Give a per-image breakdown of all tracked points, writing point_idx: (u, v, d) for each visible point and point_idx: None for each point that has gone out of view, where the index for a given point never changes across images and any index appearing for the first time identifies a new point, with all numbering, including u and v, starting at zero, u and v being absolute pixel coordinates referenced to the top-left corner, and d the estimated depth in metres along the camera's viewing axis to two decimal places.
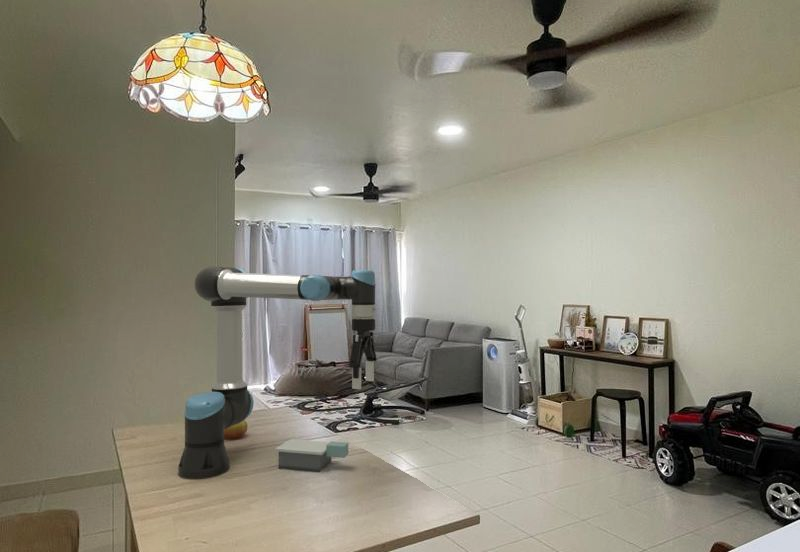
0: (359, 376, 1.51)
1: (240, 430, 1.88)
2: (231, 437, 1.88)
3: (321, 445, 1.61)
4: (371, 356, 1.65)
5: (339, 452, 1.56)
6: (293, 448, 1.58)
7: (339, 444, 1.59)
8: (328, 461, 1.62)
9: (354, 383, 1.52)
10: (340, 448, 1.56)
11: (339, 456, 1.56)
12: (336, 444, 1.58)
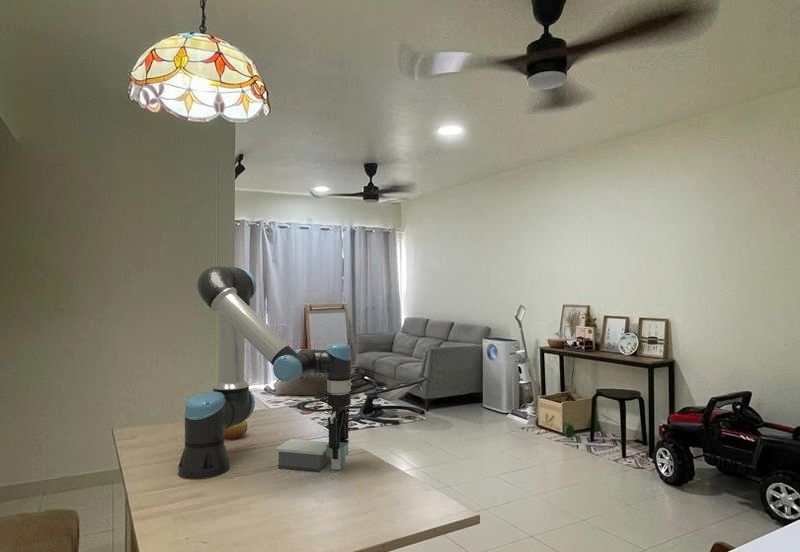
0: (338, 457, 1.56)
1: (240, 430, 1.88)
2: (231, 437, 1.88)
3: (321, 445, 1.61)
4: (343, 436, 1.61)
5: None
6: (293, 448, 1.58)
7: None
8: (328, 461, 1.62)
9: (333, 463, 1.56)
10: None
11: None
12: None
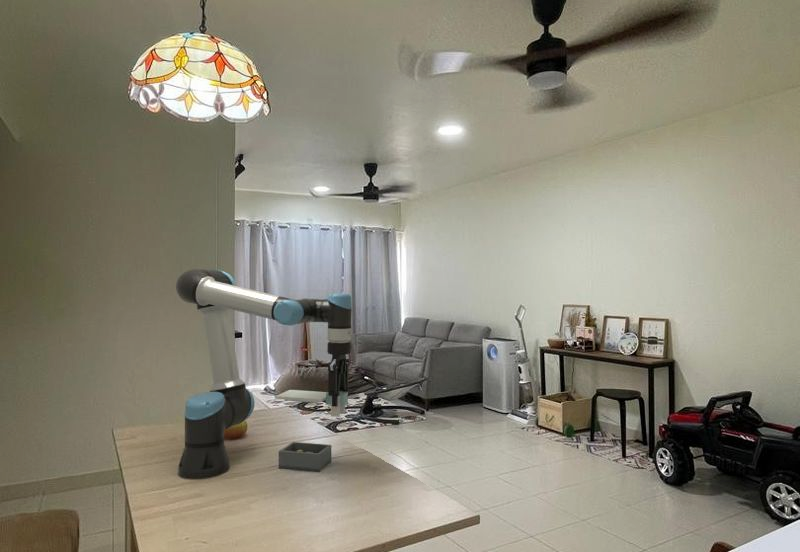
0: (338, 404, 1.56)
1: (240, 430, 1.88)
2: (231, 437, 1.88)
3: (321, 394, 1.62)
4: (343, 385, 1.61)
5: None
6: (293, 396, 1.59)
7: (339, 392, 1.59)
8: (328, 461, 1.62)
9: (333, 411, 1.57)
10: (340, 396, 1.57)
11: None
12: None
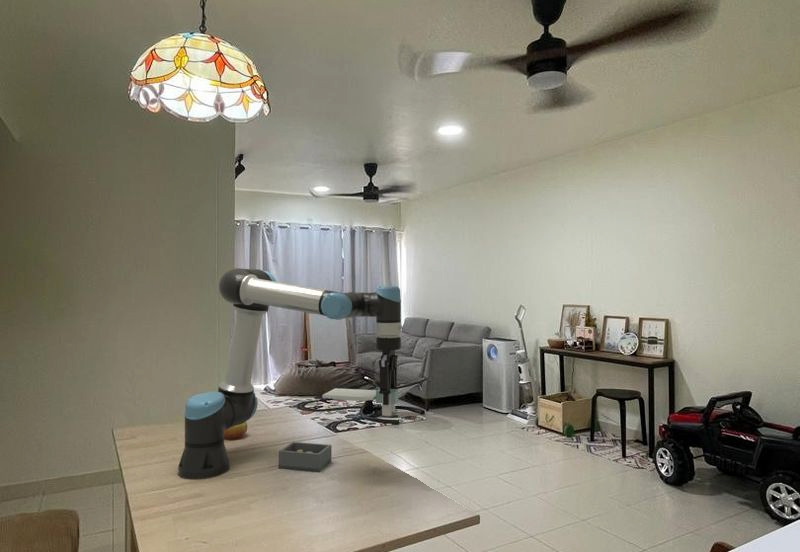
0: (389, 402, 1.48)
1: (240, 430, 1.88)
2: (231, 437, 1.88)
3: (369, 392, 1.54)
4: (393, 382, 1.53)
5: None
6: (341, 394, 1.51)
7: None
8: (328, 461, 1.62)
9: (384, 409, 1.49)
10: (391, 394, 1.49)
11: None
12: None
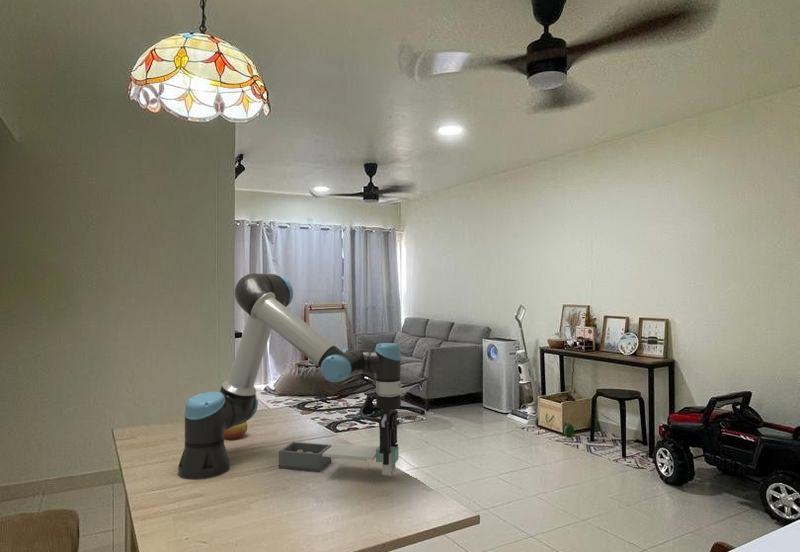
0: (389, 462, 1.48)
1: (240, 430, 1.88)
2: (231, 437, 1.88)
3: (369, 450, 1.53)
4: (393, 440, 1.53)
5: None
6: (341, 453, 1.50)
7: None
8: (328, 461, 1.62)
9: (384, 469, 1.48)
10: (391, 453, 1.48)
11: None
12: None
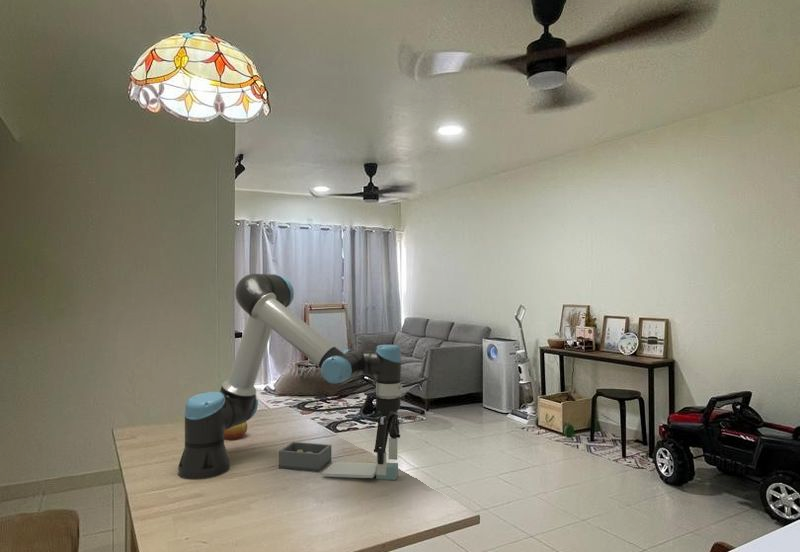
0: (384, 461, 1.44)
1: (240, 430, 1.88)
2: (231, 437, 1.88)
3: (369, 467, 1.53)
4: (395, 433, 1.57)
5: (389, 474, 1.48)
6: (340, 472, 1.50)
7: (389, 464, 1.51)
8: (328, 461, 1.62)
9: (379, 468, 1.44)
10: (390, 469, 1.48)
11: (390, 478, 1.48)
12: (386, 465, 1.50)
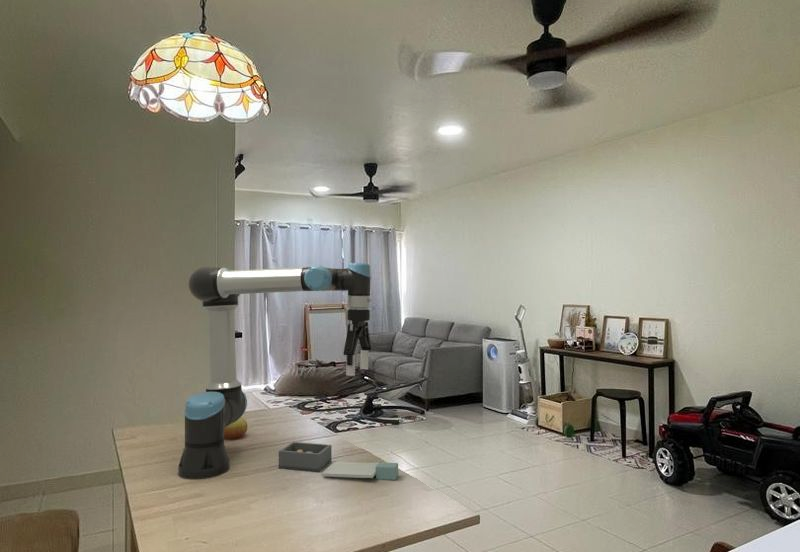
0: (353, 363, 1.59)
1: (240, 430, 1.88)
2: (231, 437, 1.88)
3: (369, 467, 1.53)
4: (366, 345, 1.72)
5: (389, 474, 1.48)
6: (340, 472, 1.50)
7: (389, 464, 1.51)
8: (328, 461, 1.62)
9: (348, 370, 1.59)
10: (390, 469, 1.48)
11: (390, 478, 1.48)
12: (386, 465, 1.50)
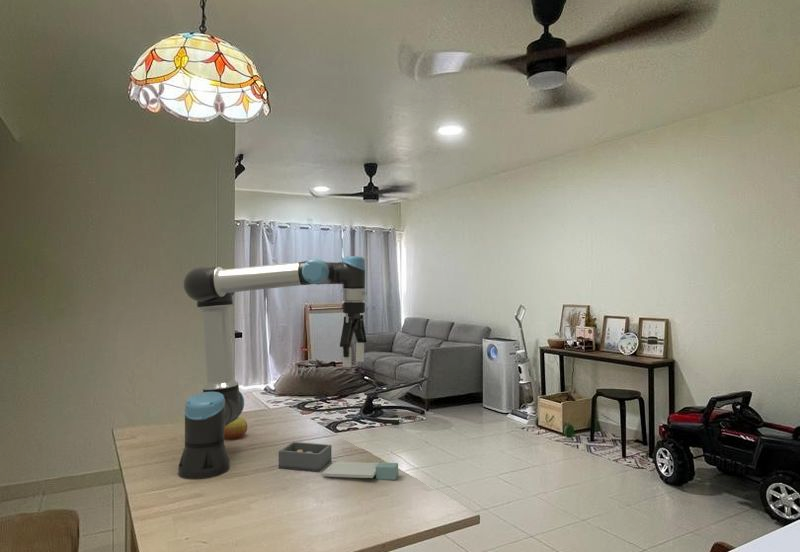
0: (349, 355, 1.62)
1: (240, 430, 1.88)
2: (231, 437, 1.88)
3: (369, 467, 1.53)
4: (361, 338, 1.75)
5: (389, 474, 1.48)
6: (340, 472, 1.50)
7: (389, 464, 1.51)
8: (328, 461, 1.62)
9: (344, 362, 1.62)
10: (390, 469, 1.48)
11: (390, 478, 1.48)
12: (386, 465, 1.50)
